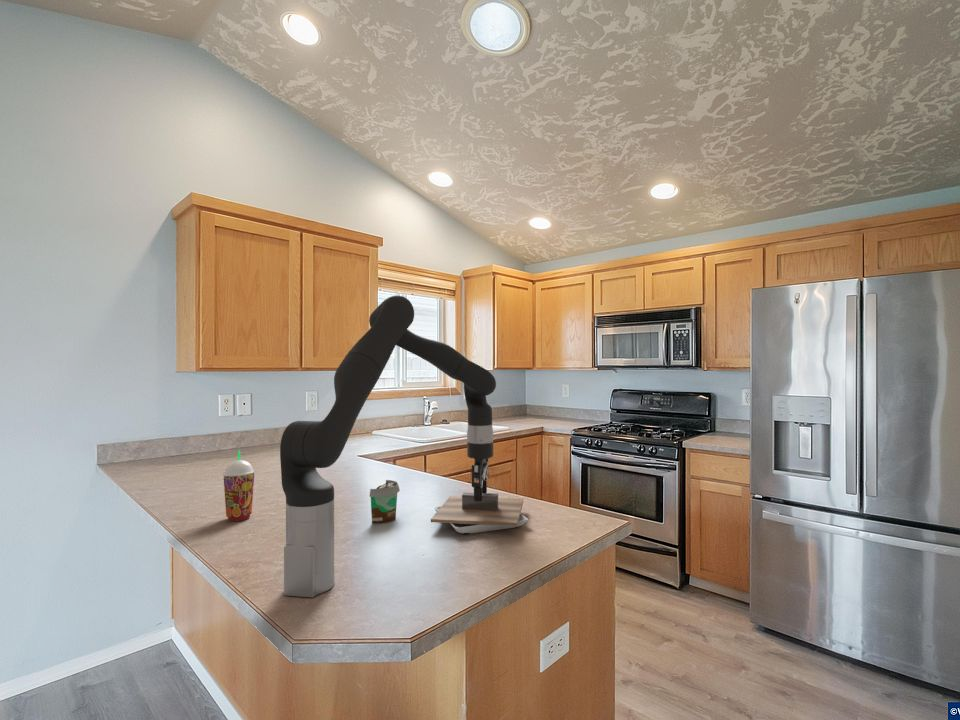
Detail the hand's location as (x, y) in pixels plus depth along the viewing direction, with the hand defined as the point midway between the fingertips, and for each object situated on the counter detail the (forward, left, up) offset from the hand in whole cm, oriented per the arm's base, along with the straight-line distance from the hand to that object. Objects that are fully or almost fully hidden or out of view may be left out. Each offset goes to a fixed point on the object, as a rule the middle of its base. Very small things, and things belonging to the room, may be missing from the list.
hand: (480, 497), depth 138 cm
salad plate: (-1, 0, -8) cm, 8 cm away
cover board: (0, 0, -4) cm, 4 cm away
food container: (-2, +27, -7) cm, 28 cm away
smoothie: (-8, +71, -7) cm, 72 cm away
